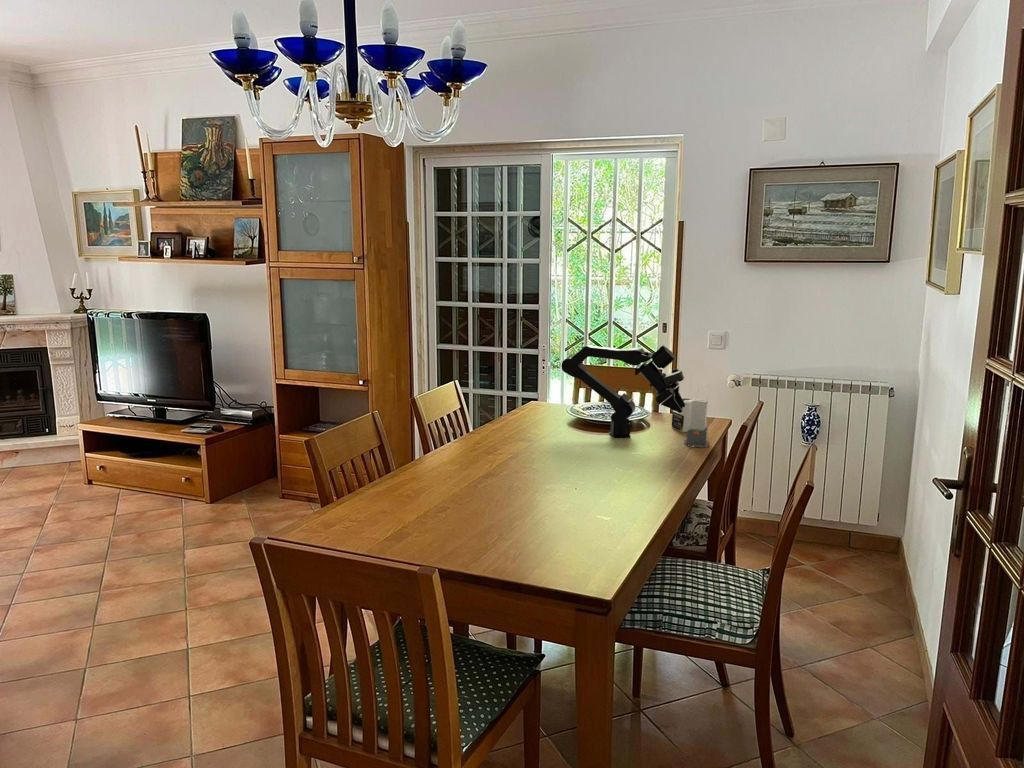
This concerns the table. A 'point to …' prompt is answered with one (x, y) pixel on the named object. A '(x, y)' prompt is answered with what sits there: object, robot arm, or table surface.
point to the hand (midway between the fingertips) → (682, 409)
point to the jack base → (697, 438)
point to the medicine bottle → (682, 417)
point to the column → (698, 414)
